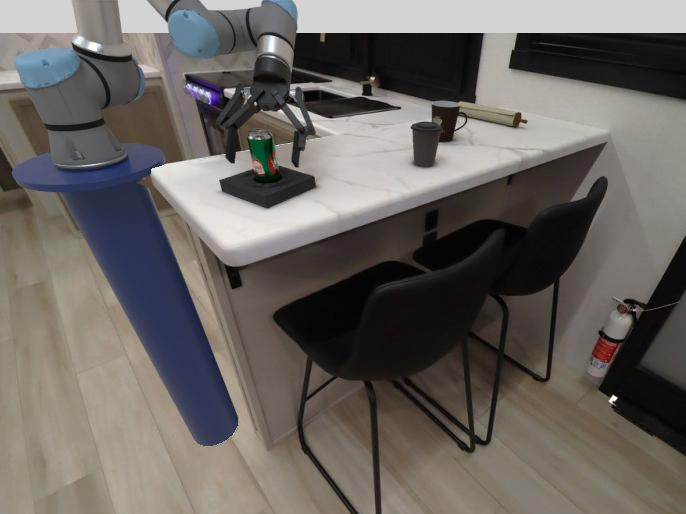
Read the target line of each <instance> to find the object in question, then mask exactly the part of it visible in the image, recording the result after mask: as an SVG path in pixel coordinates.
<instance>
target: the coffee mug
mask: <svg viewBox="0 0 686 514" xmlns="http://www.w3.org/2000/svg"><path fill="white" fill-rule="evenodd" d="M430 104H431V122H433V123H437V124H439V125H441V126H442V128H443V130H442V131H441V133H440V138H439V143H449V142H453V140H454V136H455V133H456V132H458V131H459V130H462V129H463V128H464V127H465V126H466V125H467V123H468V116H467V115H466V114H465V113H464V112H459V109H460V104H459V103H457V102H455V101H449V100H435V101H432V102H431V103H430ZM459 114H463V115H464V116H463V115H462V116H463V117H464V119H465V120H464V123H463V124H462V125H461V126H459V127H458V128H456V127H457V123H458V117H459V116H460V115H459Z"/></svg>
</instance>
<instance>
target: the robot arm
mask: <svg viewBox="0 0 686 514" xmlns="http://www.w3.org/2000/svg"><path fill="white" fill-rule="evenodd" d="M146 1H147V2H148V3H149V5H150V6H151V7H152V8H153V9H154V10H155V11H156V12H157V13H158V15H159V16H160V17H161V18H162V19H163V20H164V21H165V22H166V23H167V29H168V30H167V31H168V35H169V37H170V40H171V41H172V44H173V46H174V48H176V50H178V52H179V53H181V54H182V55H183V56H185V57H188V58H190V59H195V60H197V59H198V60H200V59H203V60H209V59H212V58H214V57H218V56H224V55H225V56H226V55H232V54H237V53H244V52H251V51H252V52H253V51H255V57H254V64H253V74H252V84H251V86H250V87H247V86H243V84H242V83H237V84H236V86H235V90H234V93H233V95H232V97H230V99H229V101H228V102H227V103H226V105H225V106H224V107H223V110H222V111H221V112H220V114H219V115H218V117H217V118H216V120H215V123H216V125H218V126H219V128H220V129H221V130H222V131H224V132H223V139H222V140H223V141H222V142H223V144H224V145H225V147H226V148H225V154H224V158H225V159H226V160H227V161H228V162H229V163H230V164H232V165H233V164H236V156H237V150H238V149H237V148H238V140H239V134H238V133H237V131H238V130H239V129H241V127H243V125H244V124H246V123H247V122H248V121H249V120H250V119H251V118H252V117H253V116H254V115H256V114H259V113H260V112H261V111H263V112H274V113H278V112H279V111H282V112H283V113H284V115H285V116H286V117H287V119H288V121H290V123H291V124H292V126H294V128H295V129H296V130H294V131H293V140H292V149H291V150H292V151H291V157H290V161H291V163H292V165H293V166H294V168H300V158H301V152H305V150H306V144H307V138H308V136H316V134H317V131H316V129H315V126H314V124H313V121H312V119H311V117H310V116H311V115H310V114H309V112H308V109H307V107H306V105H305V94H304V91H303V89H302V88H301V87H300V86H296V87H295V89H291V84H292V72H293V65H294V56H295V46H296V45H295V44H296V38H297V31H298V28H299V27H298V18H299V17H298V16H299V15H298V14H299V11H298V8H297V5H296V3H295V2H294V0H261V3H260V4H261V5H259V6H253V7H249V8H240V9H239V8H238V9H217V10H215V9H208V8H207V7H206V6H205V5H204V3H202V2H201V0H146ZM71 5H72V9H73V13H74V14H73V15H74V20H75V21H74V22H75V25H76V30H77V32H76V33H75V34H74V35H73V36H71V37H70V42H71V46H72V49H71V48H66V47H51V48H49V47H48V48H44V49H36V50H35V49H34V50H30V51H27V52H23V53H21V54H18V55H17V56H16V57H15V59H14V67H15V70H16V72H17V74H18V76H19V77H18V78H19V81H20V83H21V85H23V87H24V88H25V91H26V92H27V95H28V97H29V98H30V100H31V102H32V104H33V106H34V108H35V109H36V112H37V113H38V115H39V118H40V119H41V122H42V123H43V125H44V127H45V129H46V132H47V134H48V141H49V151H50V152H51V157H52V160H53V163H54V165H55V167H56V168H57V169H59V170H63V171H71V172H81V171H93V170H99V169H105V168H109V167H113V166H116V165H119V164H121V163H123V162H125V161H126V160H127V159H128V155H127V152H126V150H125V149H124V147H123V146H122V145H121V143H122V142H120V141H119V140H118V138H117V136H116V135H115V134H114V133H113V131H112V130H111V129H110V128H109V127H108V125H107V123H106V121H105V119H104V116H103V113H102V111H101V110H105V109H110V108H112V107H113V108H114V107H117V106H121V105H122V106H123V105H127V104H128V105H129V104H131V103H132V102H135V101H137V100H138V99H140V98H141V96H143V94H144V92H145V89H146V77H145V73H144V71H143V68H142V67H141V66H139V64H140V63H139V62H138V60H137V59H136V58H135V57H134V56H133V52H132V50H131V48H130V47H129V46H128V45H127V44H126V43H125V42H124V39H123V30H122V22H121V14H120V5H119V0H71ZM291 98H292V99H293V101H294V102H296V103H297V105H298V108H299V110H300V113H301V115H302V117H303V120H304V122H305V125H304V124H302V122H301V121H300V120H299V118H298V117H297V116H296V115H295V113H294V111H292V109H291V108H290V106H289V105H288V102H289V101H290V100H292V99H291Z"/></svg>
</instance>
